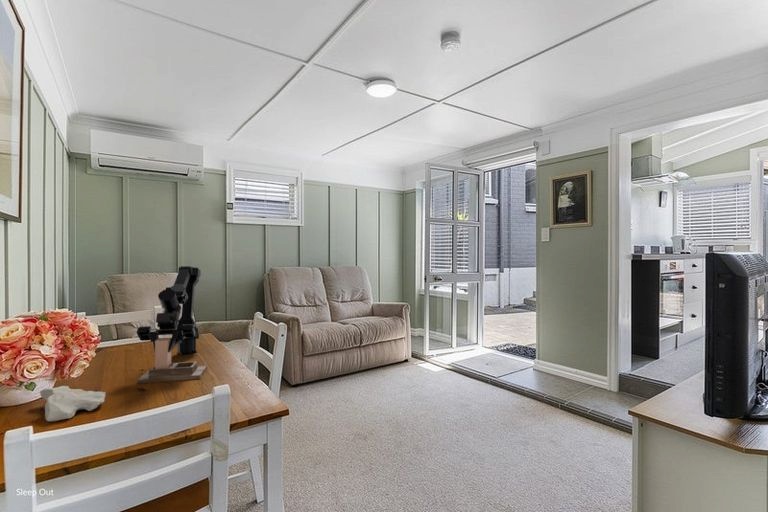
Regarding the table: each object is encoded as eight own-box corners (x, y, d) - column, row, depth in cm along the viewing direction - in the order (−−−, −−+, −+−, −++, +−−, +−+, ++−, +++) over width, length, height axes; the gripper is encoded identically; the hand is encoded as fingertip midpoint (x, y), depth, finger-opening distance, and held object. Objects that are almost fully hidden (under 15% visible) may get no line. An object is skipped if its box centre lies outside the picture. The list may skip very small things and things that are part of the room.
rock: (101, 392, 122) (38, 399, 112) (102, 378, 122) (40, 384, 112) (107, 418, 106) (36, 430, 96) (109, 402, 106) (38, 412, 96)
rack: (149, 372, 140) (149, 363, 140) (206, 368, 145) (206, 359, 145) (136, 383, 129) (136, 372, 129) (200, 378, 134) (200, 368, 134)
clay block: (159, 367, 138) (159, 338, 138) (171, 367, 139) (171, 337, 139) (155, 371, 133) (155, 341, 133) (167, 370, 134) (167, 340, 134)
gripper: (138, 305, 137) (126, 341, 127) (193, 303, 142) (186, 338, 132) (146, 322, 145) (135, 358, 135) (198, 320, 150) (191, 354, 139)
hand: (162, 352), depth 135 cm, fingers closed on clay block, 4 cm apart
